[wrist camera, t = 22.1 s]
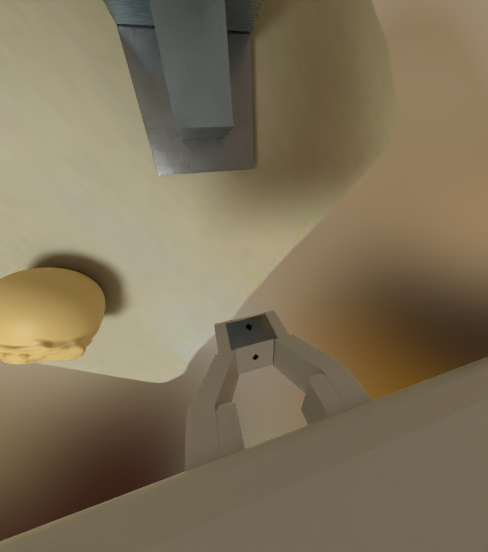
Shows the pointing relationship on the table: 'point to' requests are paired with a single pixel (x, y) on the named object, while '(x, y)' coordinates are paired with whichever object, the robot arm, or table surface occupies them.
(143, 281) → the table surface
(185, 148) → the vise
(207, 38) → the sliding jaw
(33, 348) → the sculpture
